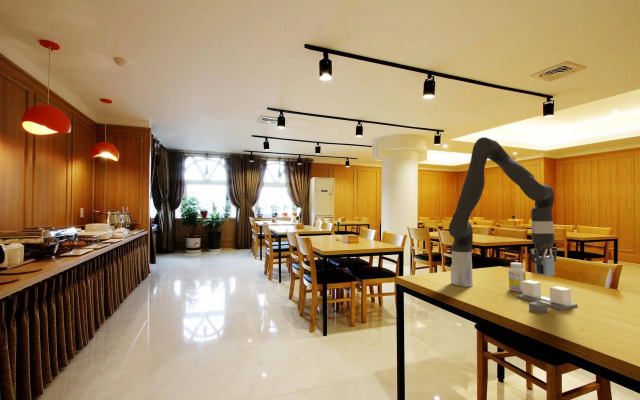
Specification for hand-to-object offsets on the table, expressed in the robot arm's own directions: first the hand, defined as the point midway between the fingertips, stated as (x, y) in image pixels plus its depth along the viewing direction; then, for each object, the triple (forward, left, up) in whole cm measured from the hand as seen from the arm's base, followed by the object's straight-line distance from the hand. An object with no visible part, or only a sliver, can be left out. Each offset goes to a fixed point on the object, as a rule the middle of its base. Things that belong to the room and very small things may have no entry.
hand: (544, 272), depth 120 cm
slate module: (0, 0, -1) cm, 1 cm away
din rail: (0, 0, -12) cm, 12 cm away
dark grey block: (+6, -14, -12) cm, 20 cm away
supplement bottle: (-16, +6, -12) cm, 21 cm away
